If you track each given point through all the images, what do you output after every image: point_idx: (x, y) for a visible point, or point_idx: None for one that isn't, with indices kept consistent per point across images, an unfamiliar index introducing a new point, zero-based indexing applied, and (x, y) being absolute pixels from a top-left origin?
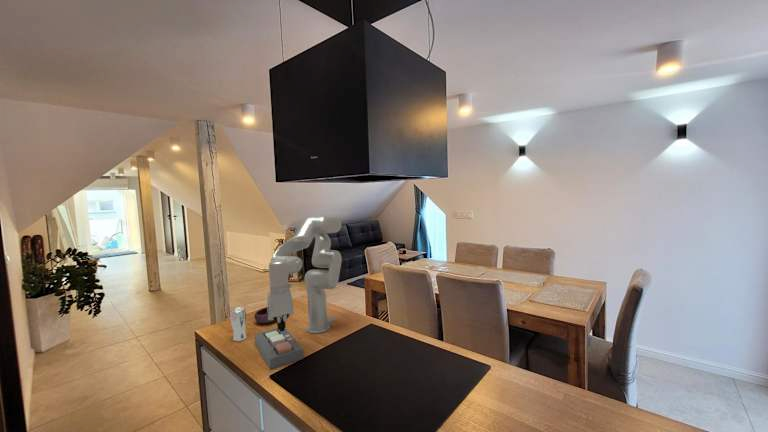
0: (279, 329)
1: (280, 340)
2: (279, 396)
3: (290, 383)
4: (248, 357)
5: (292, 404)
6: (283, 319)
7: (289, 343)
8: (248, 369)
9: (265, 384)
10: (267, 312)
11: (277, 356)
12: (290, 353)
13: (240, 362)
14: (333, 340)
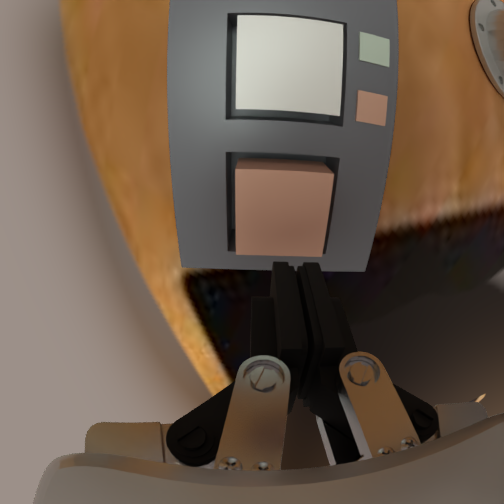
0: (272, 287)
1: (300, 110)
2: (195, 365)
3: (237, 344)
4: (121, 61)
5: (217, 391)
6: (320, 431)
7: (343, 161)
8: (109, 177)
9: (164, 309)
10: (45, 495)
11: (222, 266)
12: (295, 267)
13: (85, 94)
14: (495, 194)
